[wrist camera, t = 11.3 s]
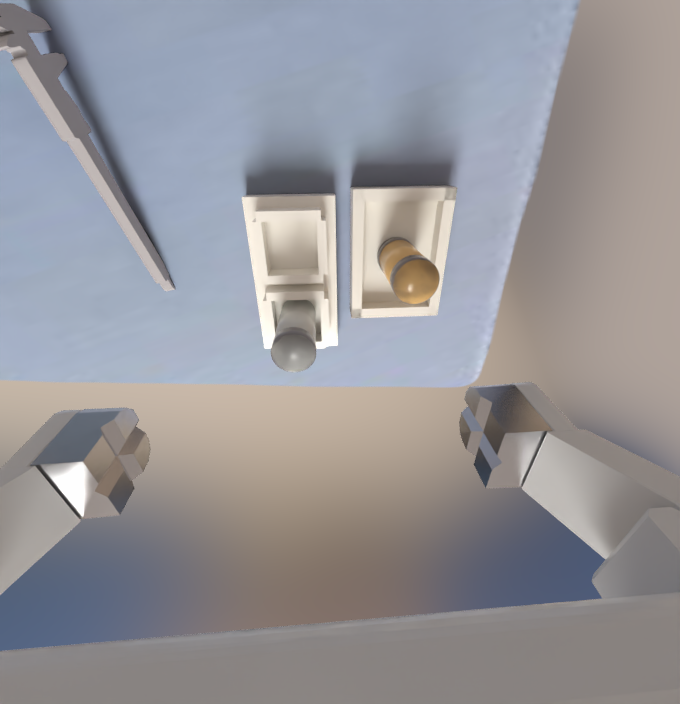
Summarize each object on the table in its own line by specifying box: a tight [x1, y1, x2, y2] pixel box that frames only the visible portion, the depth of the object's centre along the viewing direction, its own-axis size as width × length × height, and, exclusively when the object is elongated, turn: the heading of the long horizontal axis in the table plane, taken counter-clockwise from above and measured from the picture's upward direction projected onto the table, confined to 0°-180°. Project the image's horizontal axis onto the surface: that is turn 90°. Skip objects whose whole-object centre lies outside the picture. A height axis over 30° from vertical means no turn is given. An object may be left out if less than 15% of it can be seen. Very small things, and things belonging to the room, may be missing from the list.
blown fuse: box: [377, 237, 440, 304], centre depth 29 cm, size 4×4×8 cm
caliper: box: [0, 3, 175, 291], centre depth 26 cm, size 20×1×6 cm, turn 11°
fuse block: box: [242, 193, 338, 372], centre depth 29 cm, size 15×8×10 cm, turn 1°
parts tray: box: [350, 185, 457, 318], centre depth 32 cm, size 12×9×2 cm
